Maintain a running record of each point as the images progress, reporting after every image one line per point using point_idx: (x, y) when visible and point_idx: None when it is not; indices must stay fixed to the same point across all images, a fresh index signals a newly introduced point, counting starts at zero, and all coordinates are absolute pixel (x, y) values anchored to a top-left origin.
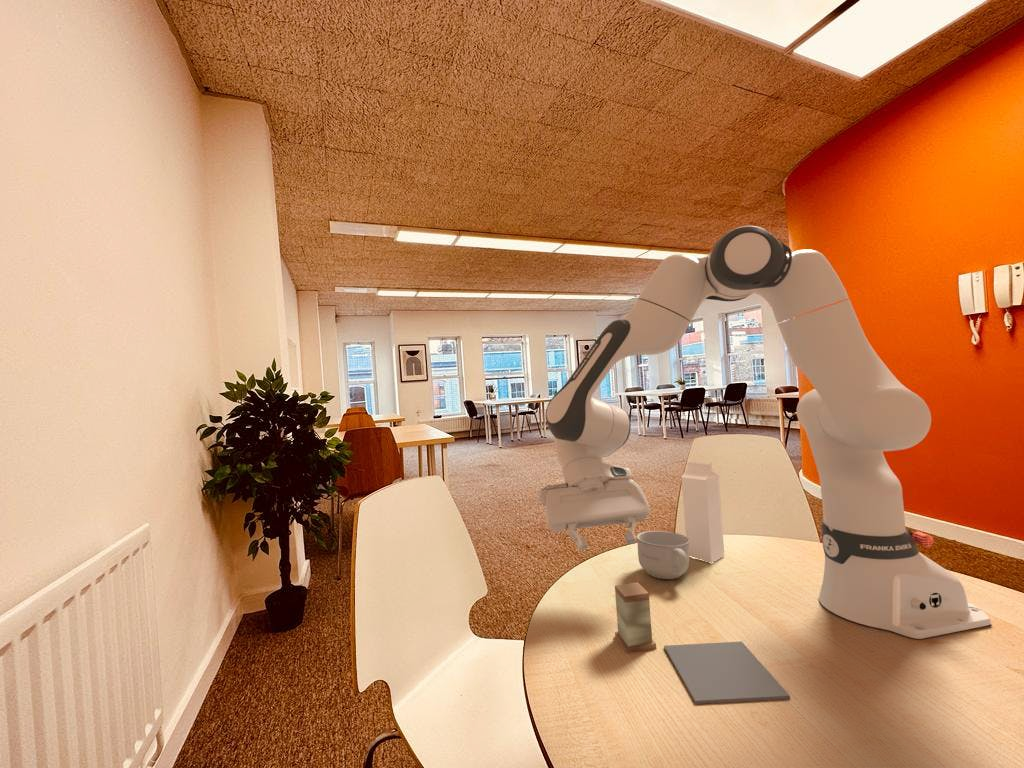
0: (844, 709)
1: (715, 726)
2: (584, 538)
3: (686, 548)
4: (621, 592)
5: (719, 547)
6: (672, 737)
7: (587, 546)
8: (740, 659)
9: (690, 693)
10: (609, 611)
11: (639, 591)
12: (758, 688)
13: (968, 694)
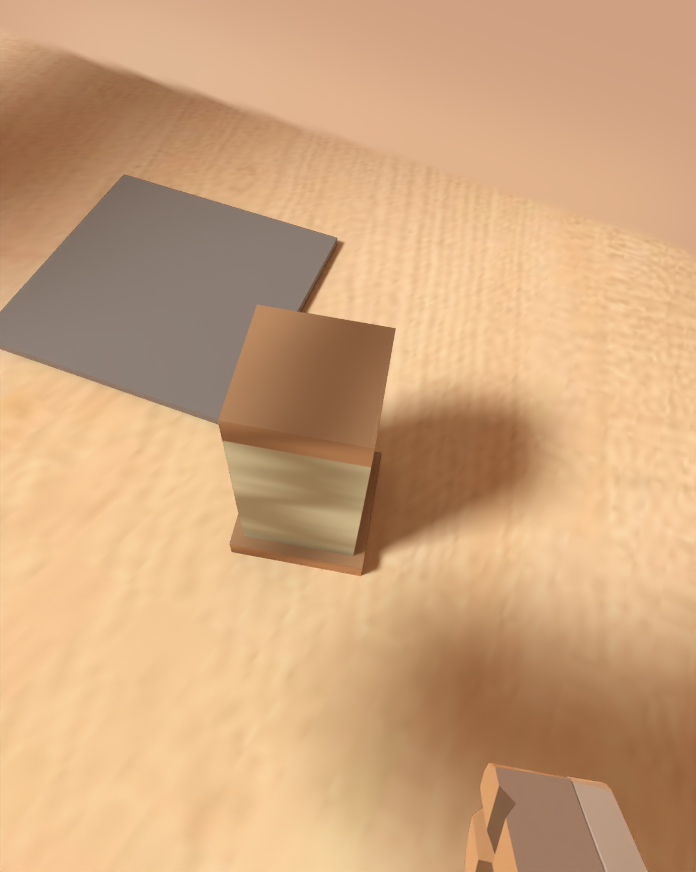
0: (62, 134)
1: (346, 196)
2: (531, 854)
3: None
4: (385, 369)
5: None
6: (450, 210)
7: (486, 768)
8: (83, 284)
9: (325, 261)
10: (249, 814)
11: (288, 335)
12: (162, 208)
13: None
